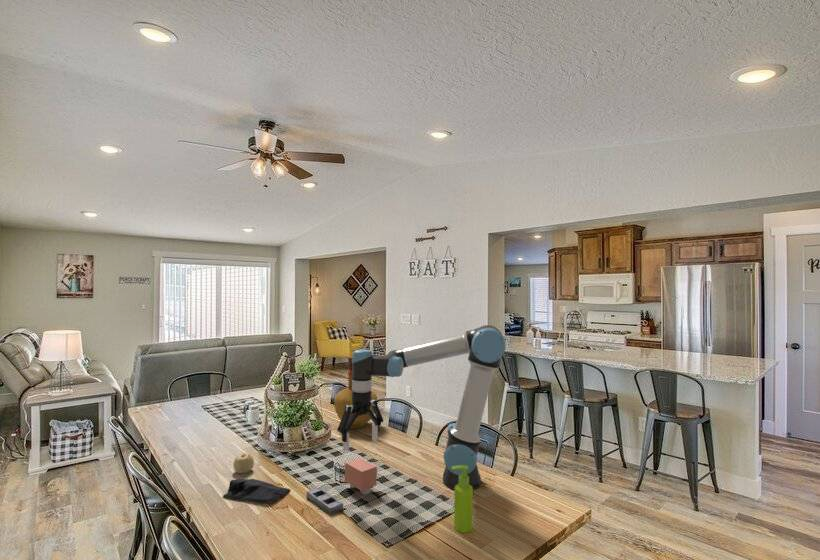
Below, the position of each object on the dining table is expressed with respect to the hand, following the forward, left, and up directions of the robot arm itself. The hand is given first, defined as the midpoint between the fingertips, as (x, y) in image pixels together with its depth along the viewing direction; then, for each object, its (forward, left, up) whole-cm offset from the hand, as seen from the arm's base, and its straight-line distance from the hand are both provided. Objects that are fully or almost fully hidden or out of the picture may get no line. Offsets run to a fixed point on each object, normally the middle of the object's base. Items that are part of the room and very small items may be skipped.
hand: (360, 445), depth 167 cm
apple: (+45, +27, -17) cm, 55 cm away
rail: (0, +16, -17) cm, 23 cm away
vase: (+61, -42, -17) cm, 76 cm away
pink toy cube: (0, 0, -17) cm, 17 cm away
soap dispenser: (-43, -9, -17) cm, 47 cm away
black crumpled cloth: (+23, +31, -17) cm, 42 cm away
